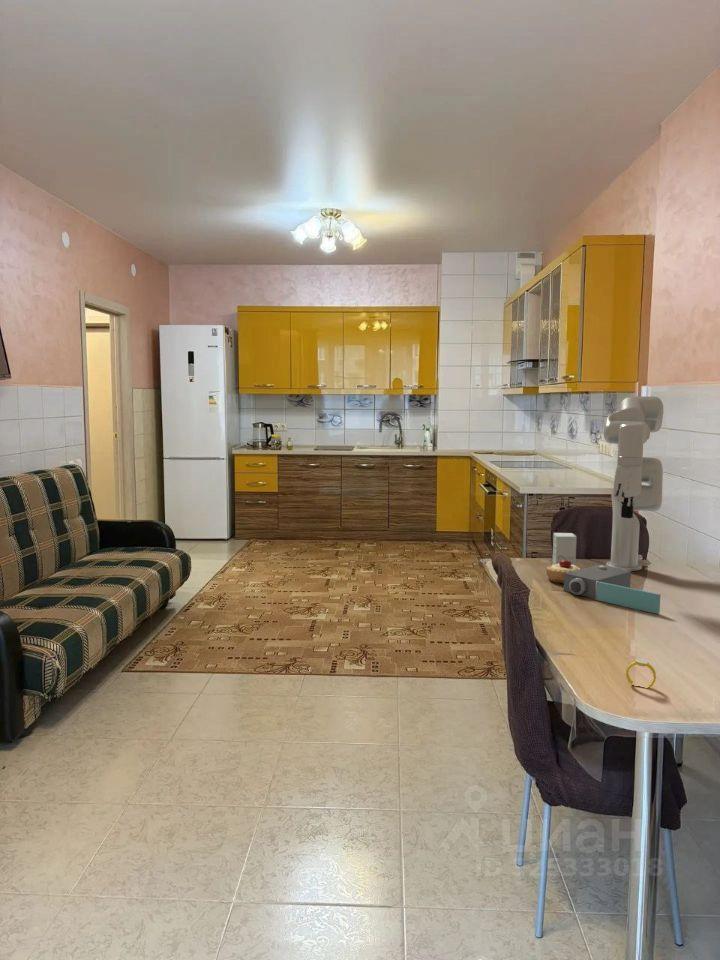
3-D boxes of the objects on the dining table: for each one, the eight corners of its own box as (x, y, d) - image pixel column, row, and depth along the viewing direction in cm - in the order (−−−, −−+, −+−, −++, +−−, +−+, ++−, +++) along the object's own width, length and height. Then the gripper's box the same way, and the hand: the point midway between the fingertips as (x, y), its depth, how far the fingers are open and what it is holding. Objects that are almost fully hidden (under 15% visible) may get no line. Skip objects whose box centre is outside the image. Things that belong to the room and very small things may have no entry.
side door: (659, 613, 204) (660, 594, 204) (657, 614, 203) (659, 594, 203) (596, 598, 219) (597, 581, 218) (594, 599, 218) (595, 581, 217)
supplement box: (571, 565, 265) (573, 532, 263) (575, 569, 257) (577, 536, 256) (551, 564, 265) (553, 532, 264) (555, 569, 258) (556, 536, 257)
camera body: (598, 581, 241) (599, 562, 240) (630, 588, 232) (631, 569, 231) (559, 592, 227) (559, 571, 226) (591, 600, 218) (592, 579, 217)
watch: (654, 687, 152) (658, 662, 151) (653, 692, 150) (657, 666, 149) (625, 680, 155) (629, 655, 154) (624, 685, 152) (627, 659, 151)
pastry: (569, 588, 233) (570, 563, 232) (539, 581, 242) (540, 556, 241) (588, 581, 241) (589, 556, 240) (559, 574, 250) (559, 550, 249)
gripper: (630, 459, 231) (627, 512, 233) (606, 462, 221) (604, 518, 224) (652, 461, 225) (649, 516, 228) (628, 464, 215) (625, 522, 218)
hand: (626, 517), depth 226 cm, fingers closed
